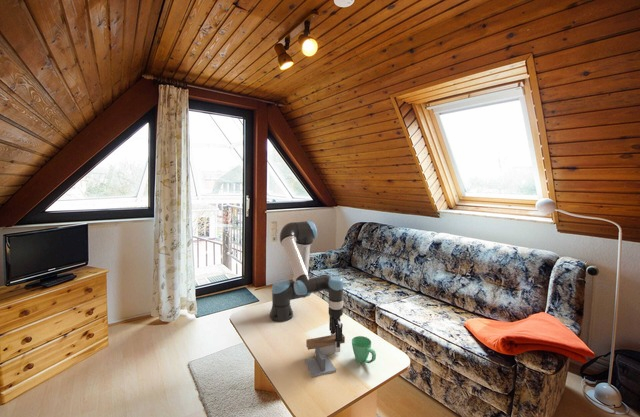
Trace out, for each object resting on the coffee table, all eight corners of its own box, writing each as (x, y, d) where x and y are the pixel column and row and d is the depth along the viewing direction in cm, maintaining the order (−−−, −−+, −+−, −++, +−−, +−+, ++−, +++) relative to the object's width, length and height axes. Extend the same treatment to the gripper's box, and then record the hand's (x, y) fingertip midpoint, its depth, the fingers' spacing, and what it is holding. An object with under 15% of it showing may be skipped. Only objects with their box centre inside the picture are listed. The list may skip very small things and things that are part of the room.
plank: (306, 346, 149) (306, 339, 149) (342, 339, 155) (342, 333, 155) (308, 349, 146) (308, 343, 145) (344, 342, 152) (344, 336, 152)
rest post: (315, 353, 151) (315, 344, 150) (333, 350, 154) (333, 341, 153) (317, 356, 148) (317, 347, 148) (335, 352, 151) (335, 344, 151)
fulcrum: (305, 361, 145) (305, 348, 144) (327, 356, 148) (327, 344, 147) (311, 377, 133) (311, 363, 132) (335, 371, 137) (336, 358, 136)
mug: (347, 358, 147) (347, 339, 146) (361, 351, 152) (362, 334, 151) (367, 374, 135) (367, 354, 134) (382, 366, 140) (382, 347, 139)
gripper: (323, 300, 157) (323, 340, 160) (335, 316, 140) (335, 360, 143) (336, 298, 160) (335, 338, 162) (349, 313, 142) (348, 357, 145)
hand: (335, 348), depth 153 cm, fingers open, 5 cm apart
